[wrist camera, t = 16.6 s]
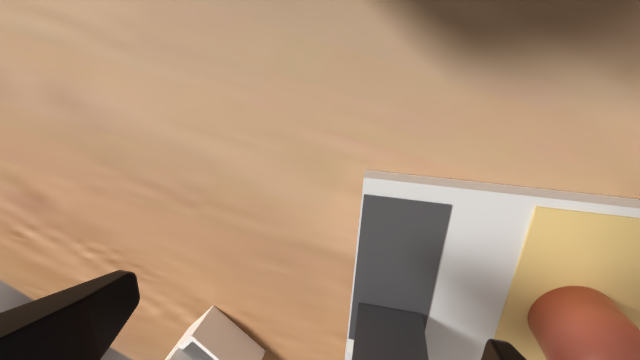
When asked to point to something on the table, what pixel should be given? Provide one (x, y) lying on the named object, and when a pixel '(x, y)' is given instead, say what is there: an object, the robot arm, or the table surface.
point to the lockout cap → (582, 326)
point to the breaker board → (487, 256)
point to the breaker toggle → (388, 334)
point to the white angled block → (215, 341)
